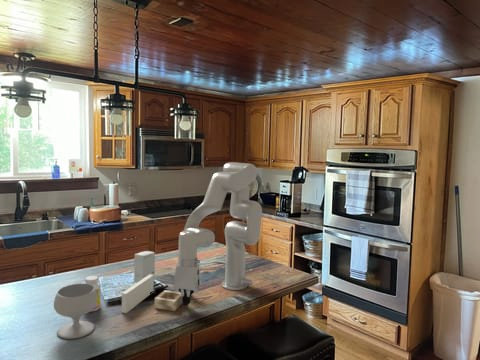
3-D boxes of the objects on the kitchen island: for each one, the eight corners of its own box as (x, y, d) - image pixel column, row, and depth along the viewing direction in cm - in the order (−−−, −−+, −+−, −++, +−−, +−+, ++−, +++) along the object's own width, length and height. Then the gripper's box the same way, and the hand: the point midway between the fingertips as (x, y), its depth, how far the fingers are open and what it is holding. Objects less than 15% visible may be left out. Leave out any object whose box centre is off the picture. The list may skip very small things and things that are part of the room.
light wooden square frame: (183, 302, 151) (183, 293, 151) (174, 311, 142) (174, 301, 142) (164, 298, 153) (164, 290, 153) (154, 307, 144) (154, 298, 144)
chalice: (104, 322, 132) (104, 283, 130) (85, 342, 118) (85, 299, 116) (68, 319, 133) (67, 281, 131) (45, 339, 119) (44, 297, 117)
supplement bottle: (79, 312, 139) (79, 280, 137) (85, 304, 145) (85, 274, 144) (97, 312, 139) (97, 281, 138) (102, 305, 146) (102, 274, 144)
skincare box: (142, 287, 165) (143, 256, 164) (133, 284, 168) (133, 253, 167) (155, 281, 173) (155, 251, 171) (146, 278, 176) (146, 249, 174)
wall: (153, 291, 161) (153, 274, 160) (126, 313, 139) (126, 293, 139) (149, 291, 161) (149, 274, 160) (121, 312, 140) (121, 293, 139)
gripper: (207, 260, 146) (206, 303, 147) (174, 256, 149) (173, 298, 151) (201, 266, 138) (200, 311, 140) (166, 262, 142) (165, 305, 144)
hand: (186, 304), depth 146 cm, fingers closed
